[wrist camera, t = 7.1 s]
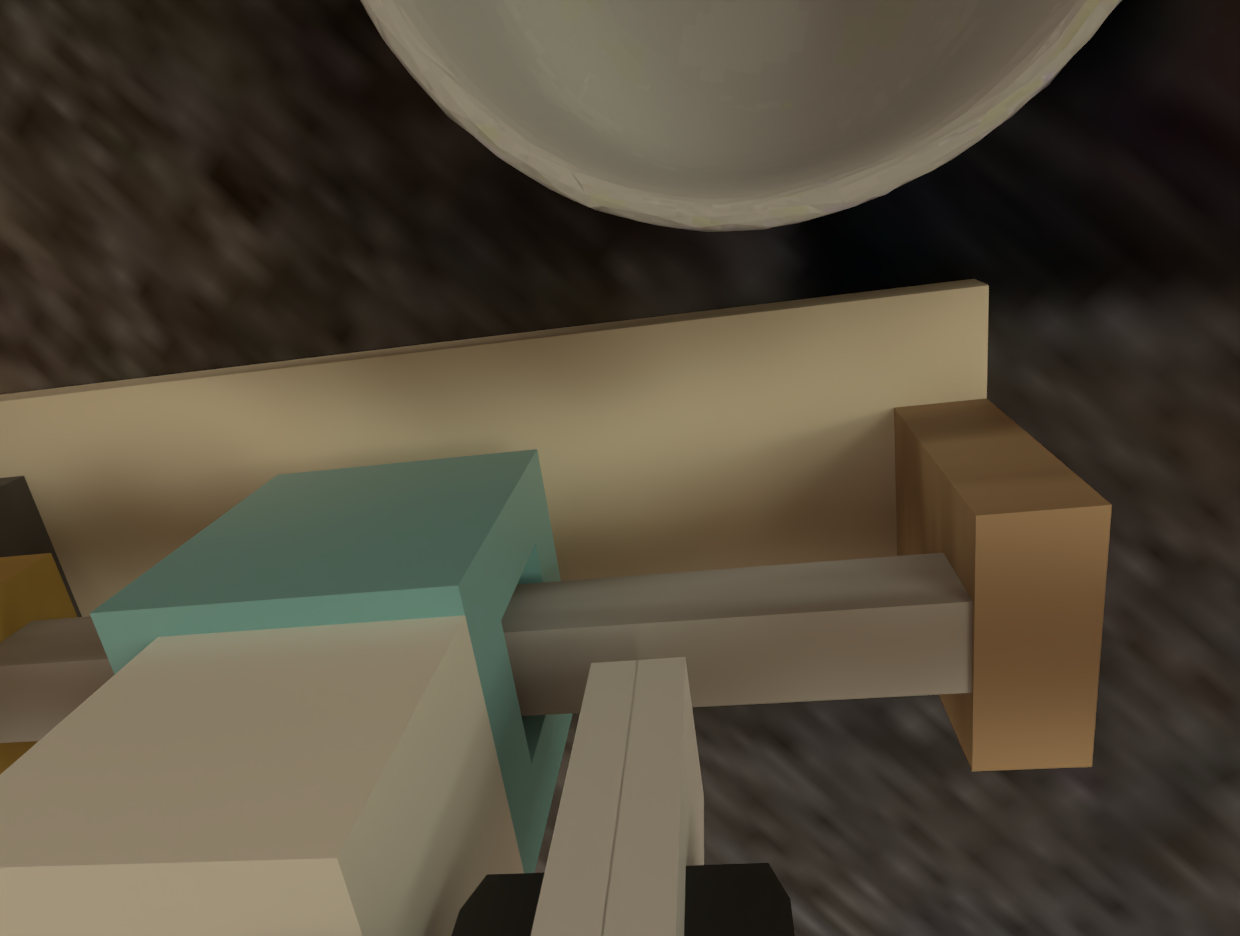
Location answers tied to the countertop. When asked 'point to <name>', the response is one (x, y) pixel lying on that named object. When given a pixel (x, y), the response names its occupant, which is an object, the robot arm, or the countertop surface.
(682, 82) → the teacup
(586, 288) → the countertop surface
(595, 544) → the rail
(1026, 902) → the countertop surface
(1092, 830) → the countertop surface
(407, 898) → the sleeve
